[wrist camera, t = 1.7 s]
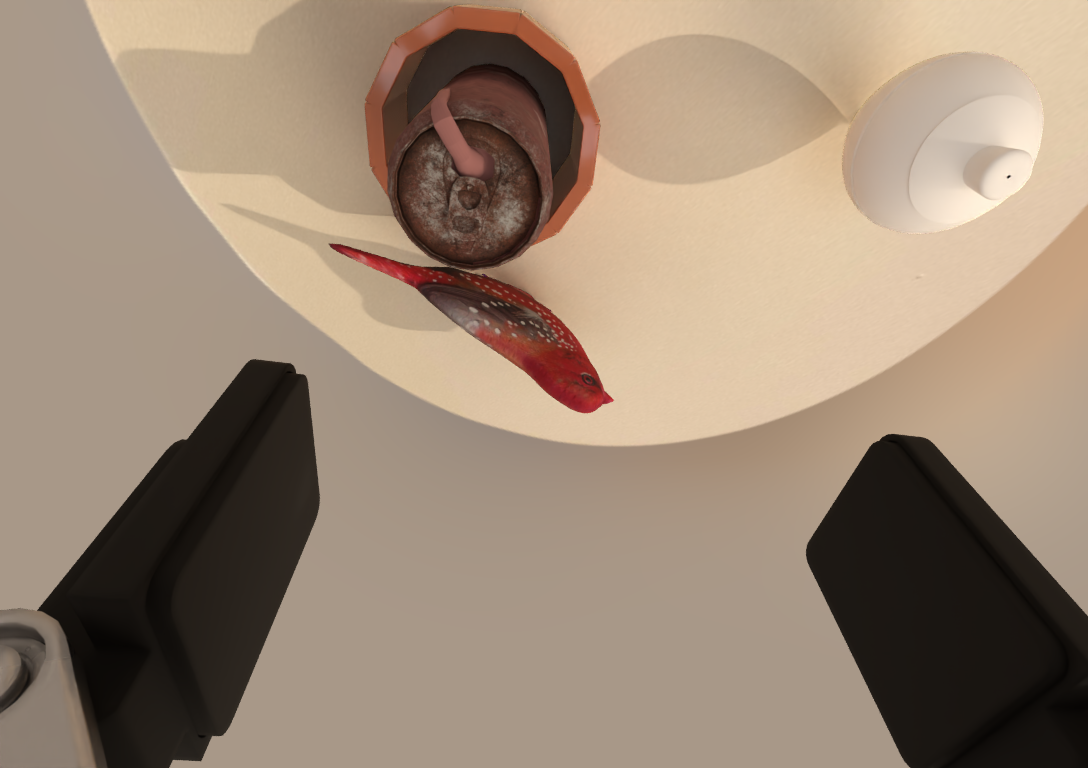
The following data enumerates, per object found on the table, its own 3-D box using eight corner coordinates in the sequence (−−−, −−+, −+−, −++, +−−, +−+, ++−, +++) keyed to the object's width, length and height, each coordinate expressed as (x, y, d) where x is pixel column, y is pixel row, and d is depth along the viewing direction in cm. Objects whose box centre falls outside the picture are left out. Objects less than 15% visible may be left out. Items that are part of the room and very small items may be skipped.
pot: (360, 148, 32) (329, 176, 27) (454, -47, 27) (437, -57, 22) (518, 251, 36) (515, 291, 31) (626, 95, 31) (645, 114, 26)
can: (514, 35, 29) (500, 61, 17) (563, 152, 32) (579, 239, 21) (413, 90, 30) (340, 148, 19) (471, 197, 34) (438, 302, 22)
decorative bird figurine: (589, 350, 40) (604, 442, 32) (350, 227, 34) (293, 299, 26) (612, 318, 38) (634, 406, 30) (367, 185, 33) (312, 248, 25)
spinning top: (864, 209, 34) (997, 295, 24) (763, 156, 32) (863, 226, 23) (963, 80, 30) (1169, 122, 21) (854, 11, 28) (1024, 21, 19)
